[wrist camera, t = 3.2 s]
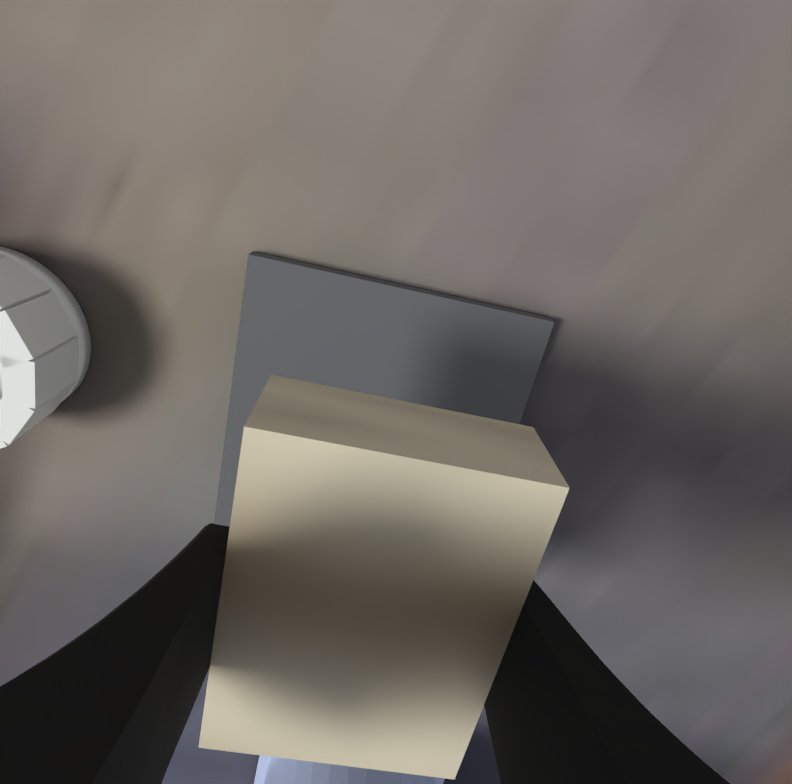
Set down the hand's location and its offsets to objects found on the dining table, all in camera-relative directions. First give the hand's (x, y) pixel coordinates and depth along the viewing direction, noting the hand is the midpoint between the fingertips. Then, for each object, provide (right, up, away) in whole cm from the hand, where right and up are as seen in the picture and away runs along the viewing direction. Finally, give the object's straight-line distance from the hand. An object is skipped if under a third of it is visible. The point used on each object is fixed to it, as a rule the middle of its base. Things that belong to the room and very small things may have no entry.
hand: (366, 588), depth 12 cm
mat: (0, +2, +7) cm, 7 cm away
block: (0, +1, +1) cm, 1 cm away
